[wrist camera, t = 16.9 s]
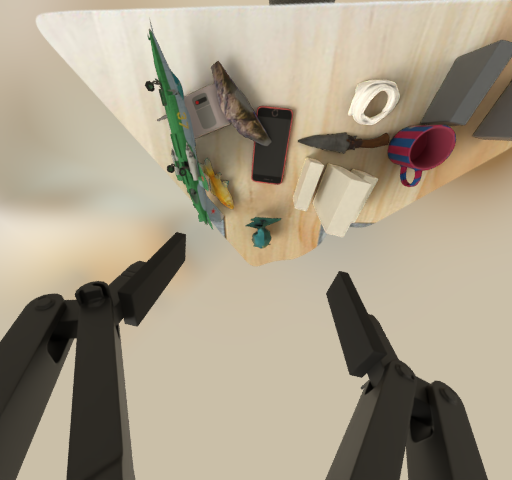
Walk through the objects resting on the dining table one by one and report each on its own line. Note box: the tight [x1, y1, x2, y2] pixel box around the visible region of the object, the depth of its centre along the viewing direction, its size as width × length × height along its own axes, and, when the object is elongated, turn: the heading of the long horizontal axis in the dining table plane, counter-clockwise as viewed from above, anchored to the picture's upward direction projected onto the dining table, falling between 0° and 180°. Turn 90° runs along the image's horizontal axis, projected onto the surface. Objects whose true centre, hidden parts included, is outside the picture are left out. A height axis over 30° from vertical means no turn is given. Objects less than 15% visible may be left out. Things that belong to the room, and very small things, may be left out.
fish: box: [199, 158, 234, 210], centre depth 43 cm, size 12×2×5 cm
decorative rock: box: [211, 61, 272, 146], centre depth 35 cm, size 16×2×5 cm
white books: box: [293, 157, 378, 223], centre depth 39 cm, size 12×9×7 cm
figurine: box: [246, 217, 281, 249], centre depth 47 cm, size 12×9×8 cm
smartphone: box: [251, 106, 293, 185], centre depth 39 cm, size 7×1×14 cm
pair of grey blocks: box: [420, 40, 512, 141], centre depth 29 cm, size 12×9×7 cm
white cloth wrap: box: [348, 80, 400, 125], centre depth 32 cm, size 8×7×5 cm
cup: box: [388, 125, 456, 187], centre depth 34 cm, size 7×10×7 cm
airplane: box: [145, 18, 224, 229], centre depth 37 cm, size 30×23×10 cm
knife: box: [298, 133, 389, 154], centre depth 36 cm, size 17×2×5 cm
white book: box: [312, 163, 371, 237], centre depth 35 cm, size 3×9×15 cm, turn 168°
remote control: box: [157, 83, 231, 139], centre depth 36 cm, size 7×16×3 cm, turn 108°
